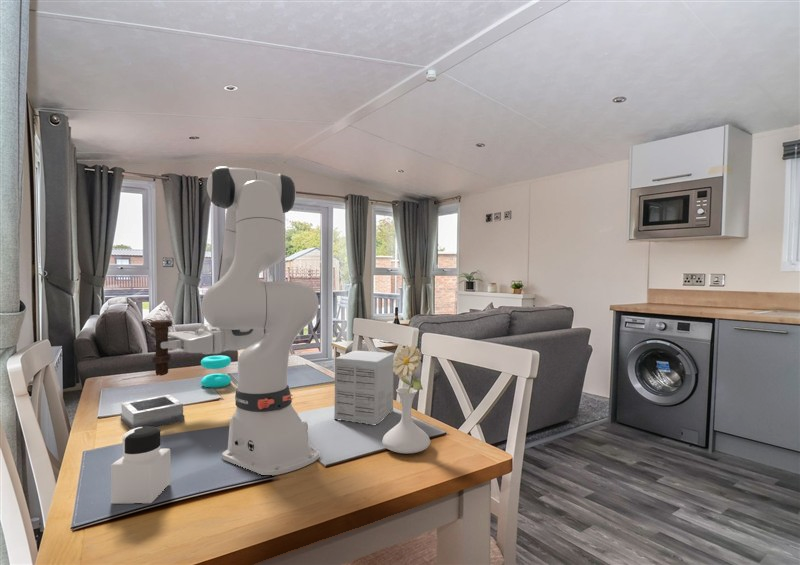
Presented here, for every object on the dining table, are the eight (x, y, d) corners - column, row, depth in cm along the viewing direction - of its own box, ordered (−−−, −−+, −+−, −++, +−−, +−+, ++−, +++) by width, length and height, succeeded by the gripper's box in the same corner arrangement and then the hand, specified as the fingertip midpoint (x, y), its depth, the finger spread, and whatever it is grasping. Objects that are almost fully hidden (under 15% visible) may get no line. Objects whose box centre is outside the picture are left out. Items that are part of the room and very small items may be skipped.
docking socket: (184, 421, 118) (184, 404, 118) (134, 432, 110) (134, 414, 110) (167, 408, 128) (167, 393, 128) (120, 418, 120) (120, 402, 119)
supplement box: (353, 406, 133) (354, 349, 132) (393, 411, 129) (394, 352, 128) (333, 420, 120) (333, 357, 120) (376, 426, 116) (377, 361, 115)
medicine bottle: (171, 484, 84) (171, 423, 83) (151, 504, 77) (151, 437, 76) (133, 484, 83) (133, 423, 83) (110, 504, 76) (109, 437, 76)
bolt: (177, 372, 123) (176, 320, 122) (165, 377, 117) (165, 322, 117) (158, 372, 123) (157, 319, 123) (145, 376, 118) (145, 321, 118)
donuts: (235, 357, 154) (206, 361, 148) (235, 385, 155) (206, 390, 148) (225, 353, 162) (196, 357, 155) (225, 380, 162) (196, 384, 155)
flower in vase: (375, 442, 105) (376, 340, 104) (418, 436, 109) (420, 338, 108) (394, 465, 93) (395, 349, 92) (441, 457, 97) (443, 346, 96)
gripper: (196, 325, 136) (147, 329, 127) (222, 331, 122) (169, 336, 112) (196, 345, 137) (147, 350, 127) (222, 354, 122) (169, 361, 112)
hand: (158, 344), depth 119 cm, fingers closed on bolt, 3 cm apart
